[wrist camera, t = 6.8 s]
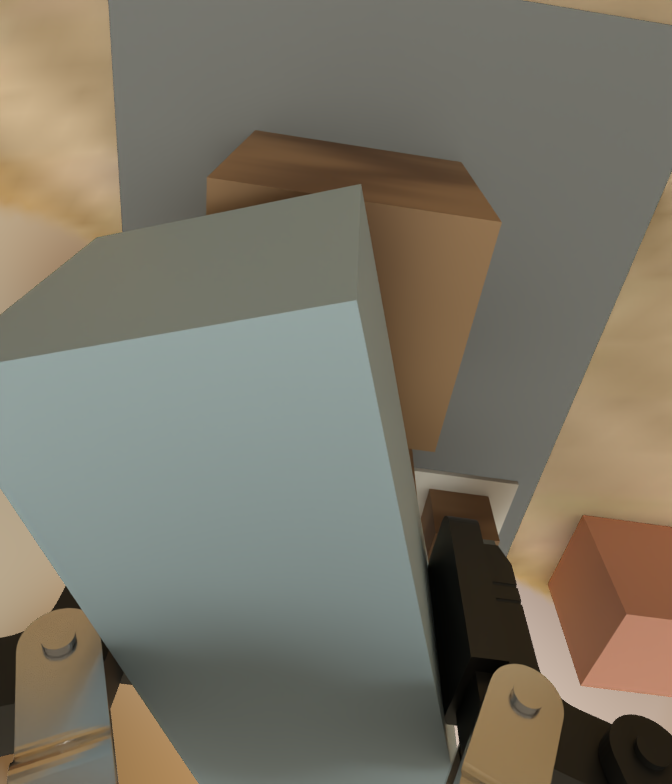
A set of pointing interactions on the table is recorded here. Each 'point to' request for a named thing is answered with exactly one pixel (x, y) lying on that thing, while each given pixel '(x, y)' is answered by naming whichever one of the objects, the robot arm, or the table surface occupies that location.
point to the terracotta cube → (617, 604)
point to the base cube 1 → (390, 248)
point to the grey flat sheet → (437, 140)
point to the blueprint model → (462, 502)
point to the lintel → (235, 489)
